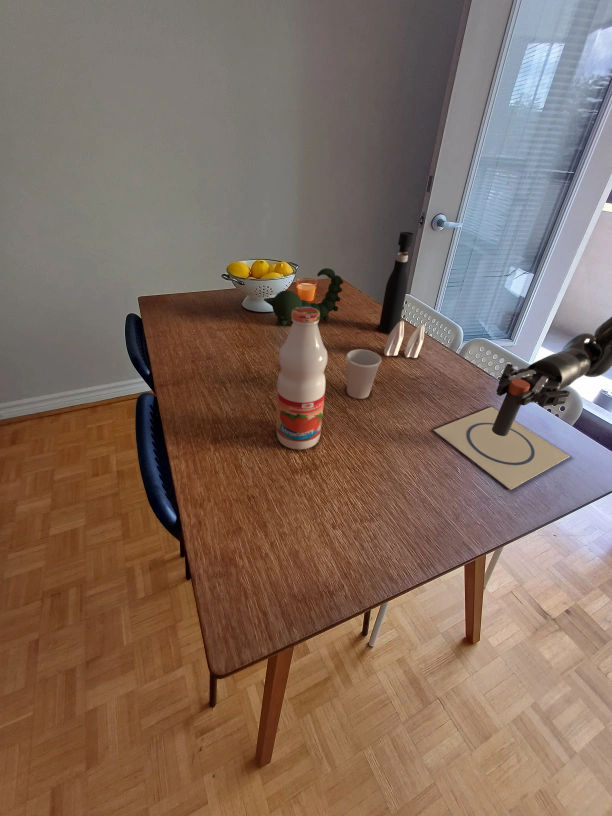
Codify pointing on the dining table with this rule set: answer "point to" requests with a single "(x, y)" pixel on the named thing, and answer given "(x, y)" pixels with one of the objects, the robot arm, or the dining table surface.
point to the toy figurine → (290, 300)
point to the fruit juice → (301, 381)
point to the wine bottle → (396, 287)
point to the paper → (501, 448)
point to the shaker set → (397, 337)
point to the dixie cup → (361, 372)
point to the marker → (509, 407)
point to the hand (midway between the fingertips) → (509, 396)
